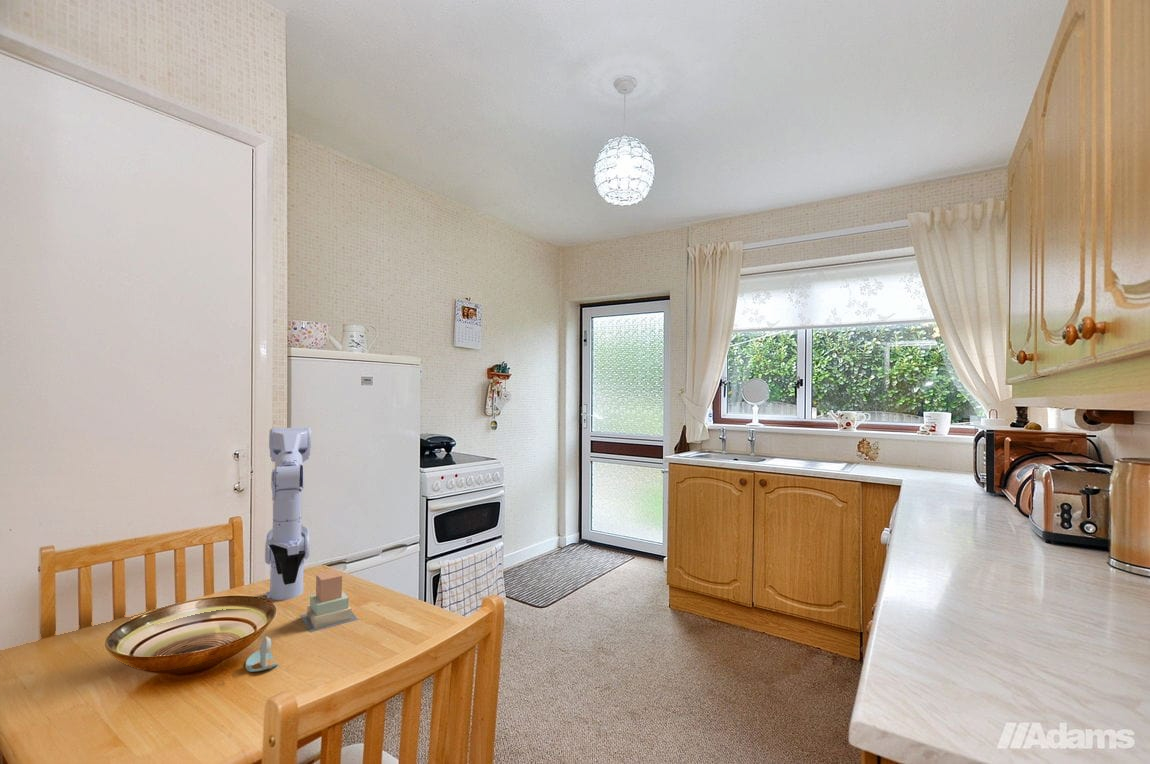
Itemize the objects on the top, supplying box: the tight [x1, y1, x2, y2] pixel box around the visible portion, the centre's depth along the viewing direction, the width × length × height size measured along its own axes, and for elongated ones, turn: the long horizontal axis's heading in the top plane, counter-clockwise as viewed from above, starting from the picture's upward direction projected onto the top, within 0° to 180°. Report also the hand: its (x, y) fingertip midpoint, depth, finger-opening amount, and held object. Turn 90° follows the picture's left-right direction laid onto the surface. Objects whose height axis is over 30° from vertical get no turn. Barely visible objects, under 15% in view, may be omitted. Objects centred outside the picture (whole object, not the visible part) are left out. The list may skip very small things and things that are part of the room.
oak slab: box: [306, 604, 352, 628], centre depth 118 cm, size 8×8×2 cm
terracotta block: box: [315, 569, 343, 602], centre depth 118 cm, size 4×4×5 cm
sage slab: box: [309, 590, 349, 616], centre depth 118 cm, size 7×7×2 cm
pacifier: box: [245, 636, 279, 673], centre depth 98 cm, size 7×6×6 cm
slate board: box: [299, 610, 359, 633], centre depth 118 cm, size 10×10×1 cm
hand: (286, 578), depth 117 cm, fingers open, 7 cm apart
